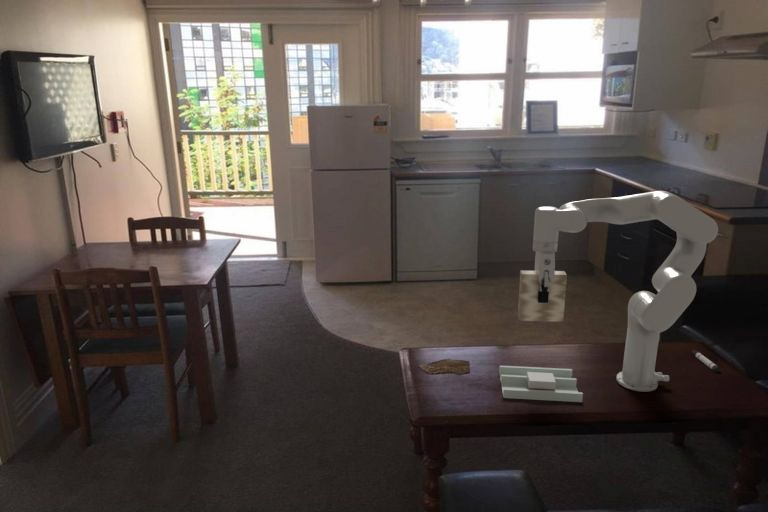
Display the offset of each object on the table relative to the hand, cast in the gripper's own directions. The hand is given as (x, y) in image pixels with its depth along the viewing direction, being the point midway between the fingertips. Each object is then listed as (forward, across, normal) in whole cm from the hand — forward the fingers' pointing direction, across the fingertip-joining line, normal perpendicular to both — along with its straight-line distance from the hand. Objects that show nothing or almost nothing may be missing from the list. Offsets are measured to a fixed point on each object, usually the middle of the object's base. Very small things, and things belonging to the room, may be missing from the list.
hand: (541, 299), depth 180 cm
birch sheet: (+7, 0, 0) cm, 7 cm away
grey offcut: (+25, -11, 0) cm, 27 cm away
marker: (+29, +18, -62) cm, 71 cm away
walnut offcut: (+27, -11, +1) cm, 29 cm away
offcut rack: (+28, -7, 0) cm, 29 cm away
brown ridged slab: (+29, +6, +27) cm, 40 cm away
